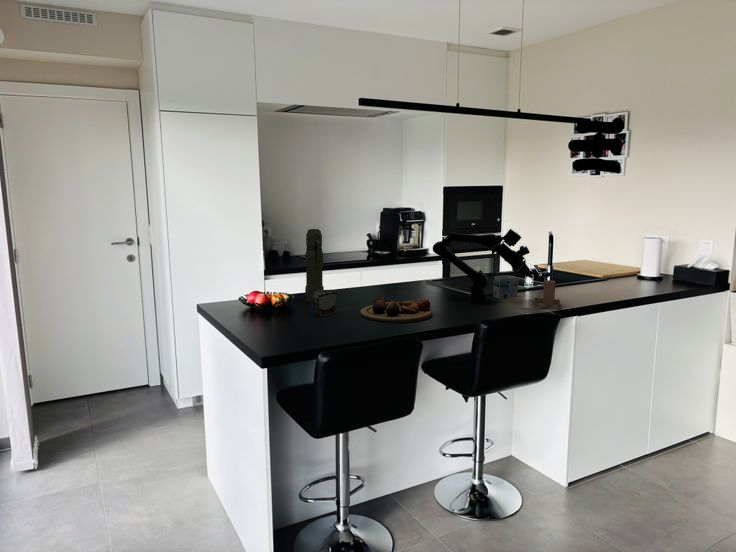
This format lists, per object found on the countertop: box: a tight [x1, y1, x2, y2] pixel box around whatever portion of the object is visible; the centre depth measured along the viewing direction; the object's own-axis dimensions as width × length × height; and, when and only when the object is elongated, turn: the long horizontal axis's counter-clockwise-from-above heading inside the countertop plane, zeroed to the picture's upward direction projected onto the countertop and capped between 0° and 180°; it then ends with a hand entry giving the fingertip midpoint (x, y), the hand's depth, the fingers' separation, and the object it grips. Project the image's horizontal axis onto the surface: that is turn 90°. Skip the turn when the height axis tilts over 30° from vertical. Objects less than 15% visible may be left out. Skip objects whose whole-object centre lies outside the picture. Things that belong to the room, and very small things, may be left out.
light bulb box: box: [492, 275, 519, 300], centre depth 286 cm, size 11×7×11 cm, turn 105°
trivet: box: [513, 307, 539, 314], centre depth 256 cm, size 11×11×1 cm
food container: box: [314, 289, 338, 317], centre depth 249 cm, size 12×6×10 cm, turn 141°
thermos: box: [304, 228, 325, 304], centre depth 272 cm, size 9×12×35 cm
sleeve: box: [534, 297, 561, 311], centre depth 265 cm, size 11×14×3 cm
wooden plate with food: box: [359, 296, 433, 324], centre depth 249 cm, size 32×32×8 cm
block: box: [542, 279, 556, 305], centre depth 264 cm, size 5×5×12 cm
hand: (532, 275), depth 265 cm, fingers open, 9 cm apart
